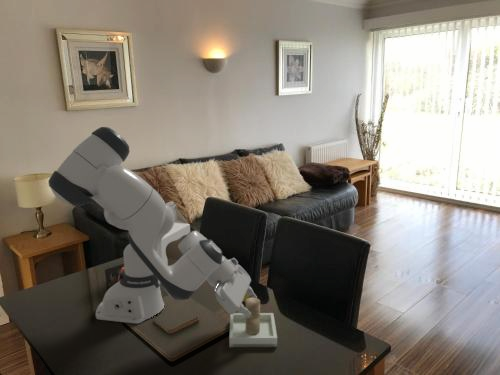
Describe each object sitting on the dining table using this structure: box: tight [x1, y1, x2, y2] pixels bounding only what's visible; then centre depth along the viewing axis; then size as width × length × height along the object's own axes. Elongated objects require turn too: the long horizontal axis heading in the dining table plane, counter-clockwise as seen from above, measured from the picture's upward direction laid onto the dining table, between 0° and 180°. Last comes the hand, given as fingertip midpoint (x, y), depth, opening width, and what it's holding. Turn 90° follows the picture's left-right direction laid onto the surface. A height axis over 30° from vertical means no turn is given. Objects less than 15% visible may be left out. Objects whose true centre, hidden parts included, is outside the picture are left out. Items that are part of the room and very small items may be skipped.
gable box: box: [158, 200, 191, 266], centre depth 170 cm, size 22×13×28 cm, turn 157°
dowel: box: [245, 297, 261, 335], centre depth 125 cm, size 4×4×10 cm
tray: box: [228, 312, 278, 348], centre depth 126 cm, size 14×14×3 cm
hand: (252, 307), depth 125 cm, fingers open, 8 cm apart
